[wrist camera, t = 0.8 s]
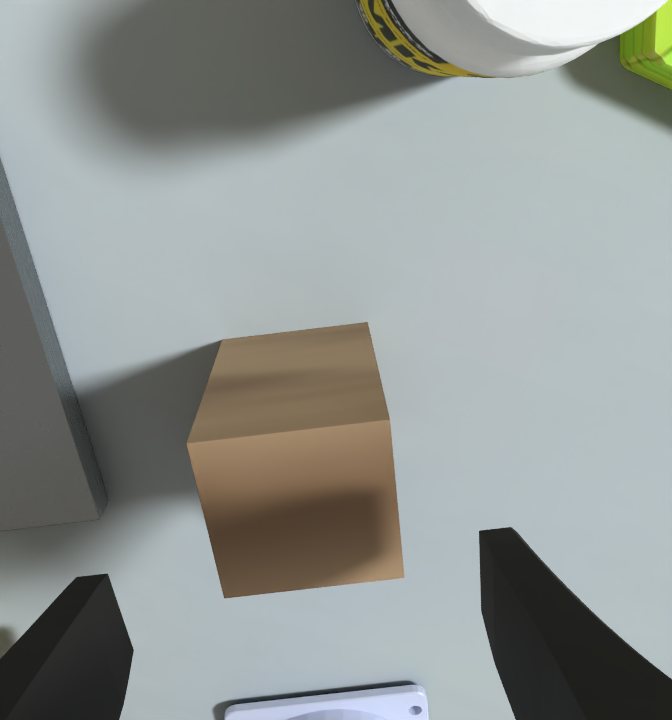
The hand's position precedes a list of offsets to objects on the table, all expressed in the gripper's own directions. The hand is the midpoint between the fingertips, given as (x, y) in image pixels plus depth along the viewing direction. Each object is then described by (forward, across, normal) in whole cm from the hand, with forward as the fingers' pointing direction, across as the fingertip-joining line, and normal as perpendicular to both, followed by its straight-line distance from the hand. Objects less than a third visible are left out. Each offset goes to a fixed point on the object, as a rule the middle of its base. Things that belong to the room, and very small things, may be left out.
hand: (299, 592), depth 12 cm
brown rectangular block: (+8, 0, 0) cm, 8 cm away
